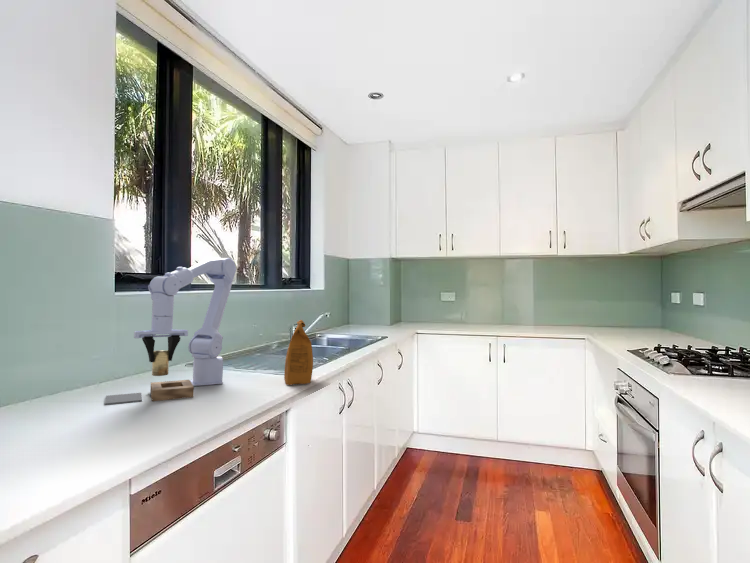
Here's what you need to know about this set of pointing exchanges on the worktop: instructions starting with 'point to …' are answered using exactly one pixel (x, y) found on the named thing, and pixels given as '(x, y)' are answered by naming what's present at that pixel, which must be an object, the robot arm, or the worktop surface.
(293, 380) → the coffee package
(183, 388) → the housing
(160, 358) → the end cover
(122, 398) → the mat
